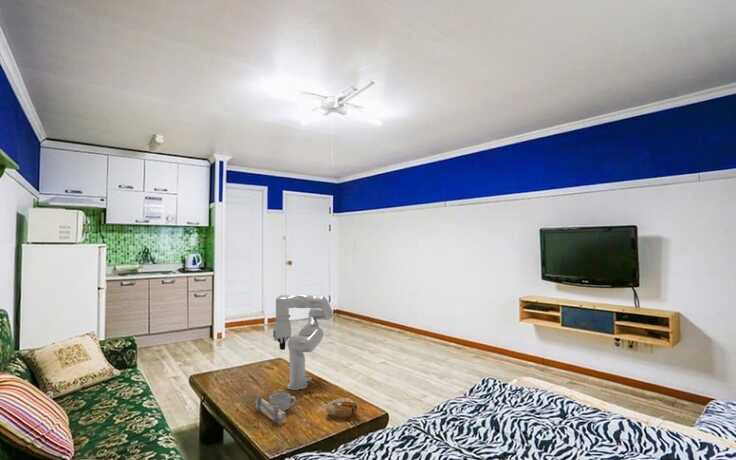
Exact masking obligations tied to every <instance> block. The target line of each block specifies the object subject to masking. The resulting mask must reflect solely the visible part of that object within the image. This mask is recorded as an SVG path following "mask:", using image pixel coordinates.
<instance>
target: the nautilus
mask: <svg viewBox="0 0 736 460" xmlns="http://www.w3.org/2000/svg"><path fill="white" fill-rule="evenodd" d="M325 405H326V406H325V411H326V413H327V414H329V415H332V416H335V417H336V418H346V417H350V418H354V422H356V421H357V419H359V420H360V416H361V413H359V411H360V410H359V409H360V408H358V404H357V403H356V402H355V401H354V400H352V399H351V398H347V397H342V398H337V399H334V400H332V401H330V402H328V403H327V404H325ZM356 416H357V417H356Z"/></svg>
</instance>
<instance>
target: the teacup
mask: <svg viewBox="0 0 736 460" xmlns="http://www.w3.org/2000/svg"><path fill="white" fill-rule="evenodd" d="M292 399H293V402H291V400H292ZM296 401H297V399H296V397H295V396H294V395H292V396H291V394H290V393H288V392H276V393H273V394H270V395H269V403H270V404H272V405H279V409H280V410H282V411H283V412H285V413H286V411H287V410H288V409H289V408H291V407H292V406H293V405H295V403H296Z"/></svg>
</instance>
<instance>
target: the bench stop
mask: <svg viewBox="0 0 736 460" xmlns="http://www.w3.org/2000/svg"><path fill="white" fill-rule="evenodd" d="M255 409H256V412H257V413H261V414H263V415H264V416H266V417H268V418H269V419H270V420H272V423H273V424H276V425H277V424H278V425H279V426H282V425H284V424H286V421H287V420H286V419H287V417H286V415H287V414H286V411H285V412H283V411H282V410H280V409H279V405H272V404H270V401H267V400H265V399H264V398H263V396H262V395H261V394H257V395H256V398H255Z"/></svg>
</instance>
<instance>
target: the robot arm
mask: <svg viewBox="0 0 736 460" xmlns="http://www.w3.org/2000/svg"><path fill="white" fill-rule="evenodd" d="M295 308H296V309H309V311H308V320H307V323H305V325H304V326H303V327H302V328H301V329H300V330H299V332H298V334H297V335H296V334H295V335H292V326H291V324H292V323H291V320H290V318H291V315H290V311H289V309H295ZM332 317H333V309H332V307H331V305H330V303H329V301H328V299H327V298H326V296H324V295H314V294H313V295H309V294H308V295H307V294H291V295H290V294H279V296H278V297H276V298H275V320H274V322H273V327H272V329H273V330H272V338H273V341H276V342H278V343H279V349H280V350H281V351H284V350H286V343H287V347H288V354H289V382H288V383H287V386H286V388H287V389H288V390H290V389H291V390H292V391H299V389H301V390H304V389H306V388H308V382H310V381H312V380H313V378H312V376H309V377H308V376H306V356H305V354H304V353H311V352H313V351H314V350H315V349H316V348H317V347H318V346H319V344H320V343H321V342H322V340H323V339H324V338H323V337H324V331H323V329H322V328H320V325H319V322H318V321H319V320H320V321H330V320H331V319H332Z"/></svg>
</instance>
